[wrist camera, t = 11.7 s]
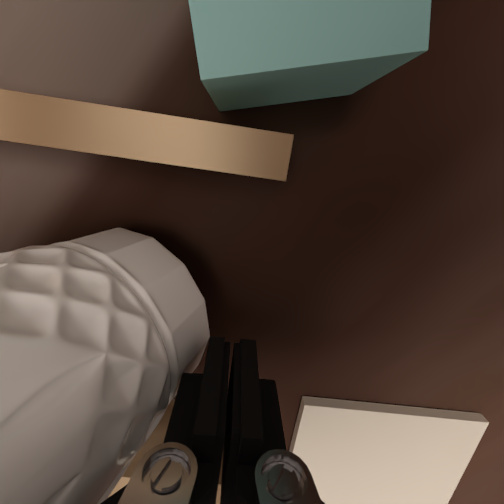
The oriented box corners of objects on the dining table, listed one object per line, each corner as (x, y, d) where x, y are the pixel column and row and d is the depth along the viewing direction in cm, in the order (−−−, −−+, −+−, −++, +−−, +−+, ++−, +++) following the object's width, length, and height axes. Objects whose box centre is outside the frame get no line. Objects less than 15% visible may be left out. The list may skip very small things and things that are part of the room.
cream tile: (480, 412, 16) (489, 422, 15) (422, 531, 19) (427, 542, 19) (302, 395, 15) (304, 405, 15) (271, 520, 18) (272, 532, 18)
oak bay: (277, 141, 11) (294, 135, 8) (233, 421, 16) (229, 505, 12) (-99, 83, 11) (-292, 43, 7) (-35, 397, 15) (-130, 480, 11)
